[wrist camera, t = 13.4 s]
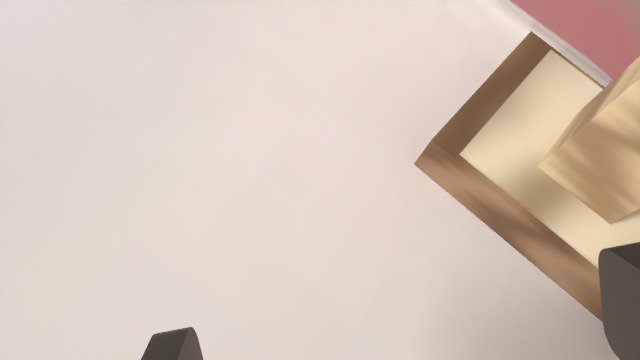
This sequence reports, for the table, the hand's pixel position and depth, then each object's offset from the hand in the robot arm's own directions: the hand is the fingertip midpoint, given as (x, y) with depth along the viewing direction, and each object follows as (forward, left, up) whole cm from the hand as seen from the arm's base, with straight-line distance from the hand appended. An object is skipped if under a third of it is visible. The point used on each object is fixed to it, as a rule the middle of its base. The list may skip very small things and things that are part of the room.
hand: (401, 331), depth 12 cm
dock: (+4, +18, -17) cm, 25 cm away
